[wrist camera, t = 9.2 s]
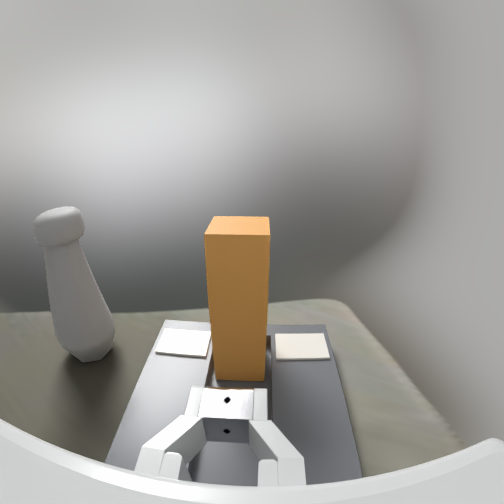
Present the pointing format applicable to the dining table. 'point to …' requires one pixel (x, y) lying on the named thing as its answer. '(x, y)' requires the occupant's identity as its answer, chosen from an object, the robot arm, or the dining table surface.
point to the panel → (275, 381)
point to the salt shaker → (73, 286)
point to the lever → (238, 295)
